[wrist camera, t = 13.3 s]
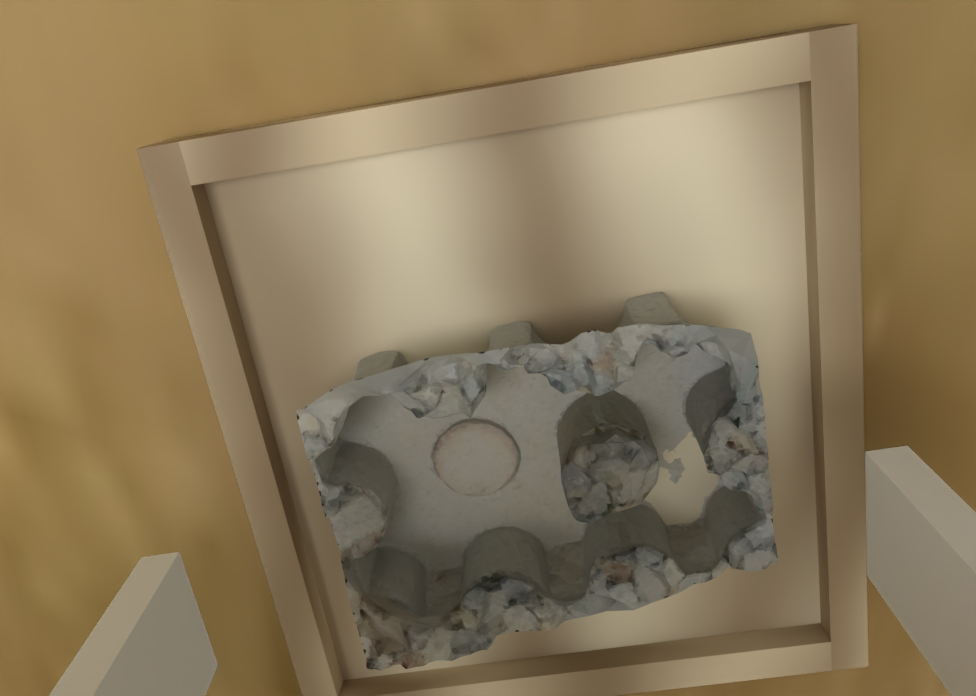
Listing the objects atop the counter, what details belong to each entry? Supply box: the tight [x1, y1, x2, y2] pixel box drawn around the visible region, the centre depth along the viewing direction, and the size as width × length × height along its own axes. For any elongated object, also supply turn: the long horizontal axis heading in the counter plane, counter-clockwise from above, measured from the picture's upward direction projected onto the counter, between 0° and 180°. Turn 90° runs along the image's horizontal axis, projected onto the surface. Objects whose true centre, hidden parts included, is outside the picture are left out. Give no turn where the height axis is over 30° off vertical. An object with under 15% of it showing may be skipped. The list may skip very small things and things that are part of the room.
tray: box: [136, 24, 868, 696], centre depth 22 cm, size 16×17×2 cm
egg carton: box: [296, 292, 778, 671], centre depth 20 cm, size 11×8×4 cm
